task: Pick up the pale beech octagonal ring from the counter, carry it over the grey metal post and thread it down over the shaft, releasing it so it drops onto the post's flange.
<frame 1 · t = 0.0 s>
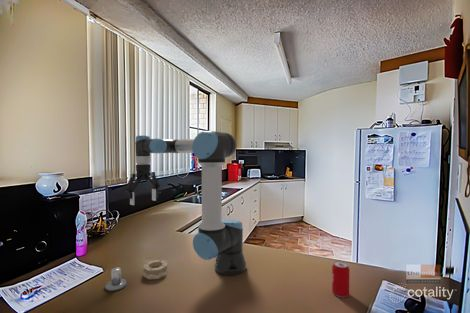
hand: (143, 202, 135), 28 cm above the worktop, fingers open, 13 cm apart
post: (116, 285, 102), on the worktop
ring: (155, 273, 113), on the worktop
beverage can: (340, 294, 96), on the worktop
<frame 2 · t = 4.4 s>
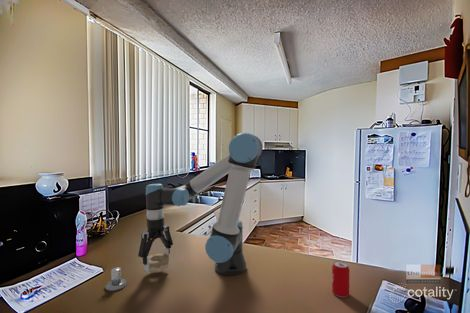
hand: (157, 266, 112), 3 cm above the worktop, fingers closed on ring, 10 cm apart
ring: (157, 266, 112), point 3 cm above the worktop, touching gripper
everything else where it was.
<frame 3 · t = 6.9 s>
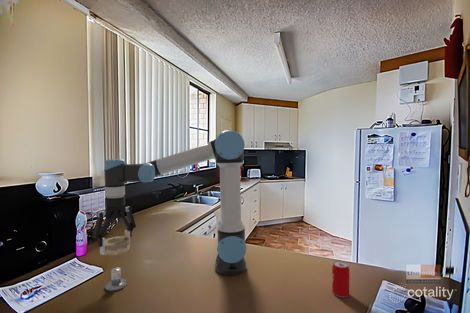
hand: (115, 249, 102), 15 cm above the worktop, fingers closed on ring, 10 cm apart
ring: (115, 250, 102), point 15 cm above the worktop, touching gripper
everything else where it was.
when the fingers open (4 cm above the worktop, at t = 9.7 s): ring drops 3 cm, resting on post.
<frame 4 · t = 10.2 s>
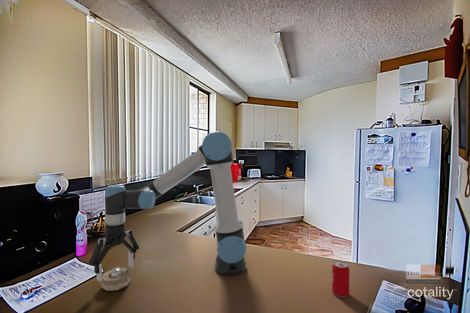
hand: (116, 273, 102), 5 cm above the worktop, fingers open, 13 cm apart
ring: (116, 283, 102), point 1 cm above the worktop, touching post
everything else where it was.
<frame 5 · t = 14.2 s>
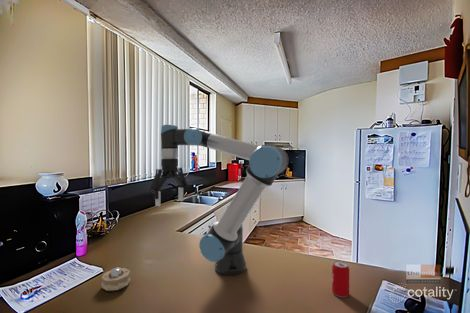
hand: (170, 203, 115), 32 cm above the worktop, fingers open, 13 cm apart
nothing on the worktop moved.
at the end: ring 0.0 cm off-centre on the post, point 1.0 cm above the post's base; the gripper is holding nothing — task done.
